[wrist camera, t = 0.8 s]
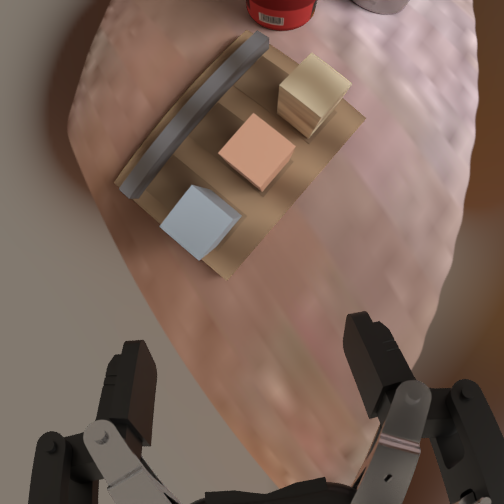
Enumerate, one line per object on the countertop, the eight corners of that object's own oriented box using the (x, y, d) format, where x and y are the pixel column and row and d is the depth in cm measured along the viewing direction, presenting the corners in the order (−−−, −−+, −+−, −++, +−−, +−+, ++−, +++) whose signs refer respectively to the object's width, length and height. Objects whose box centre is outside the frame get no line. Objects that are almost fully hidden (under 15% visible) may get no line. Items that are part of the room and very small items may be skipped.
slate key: (210, 189, 31) (191, 184, 23) (242, 215, 31) (233, 219, 23) (185, 221, 32) (159, 226, 24) (216, 247, 32) (199, 260, 24)
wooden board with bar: (247, 37, 31) (245, 18, 26) (360, 122, 32) (373, 112, 27) (121, 183, 34) (102, 181, 29) (229, 276, 35) (223, 287, 30)
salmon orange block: (257, 135, 30) (253, 112, 22) (288, 161, 30) (295, 146, 22) (230, 166, 31) (218, 153, 23) (262, 192, 31) (260, 187, 23)
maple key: (301, 86, 29) (311, 52, 21) (332, 111, 29) (352, 83, 21) (276, 113, 30) (279, 85, 22) (308, 138, 30) (321, 117, 22)
